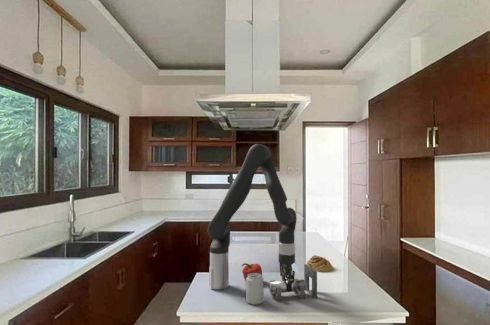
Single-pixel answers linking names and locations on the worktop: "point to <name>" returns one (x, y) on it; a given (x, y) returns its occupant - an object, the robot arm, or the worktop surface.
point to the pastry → (320, 264)
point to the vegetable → (251, 269)
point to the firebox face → (313, 274)
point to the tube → (285, 286)
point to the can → (254, 288)
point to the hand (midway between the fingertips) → (286, 289)
